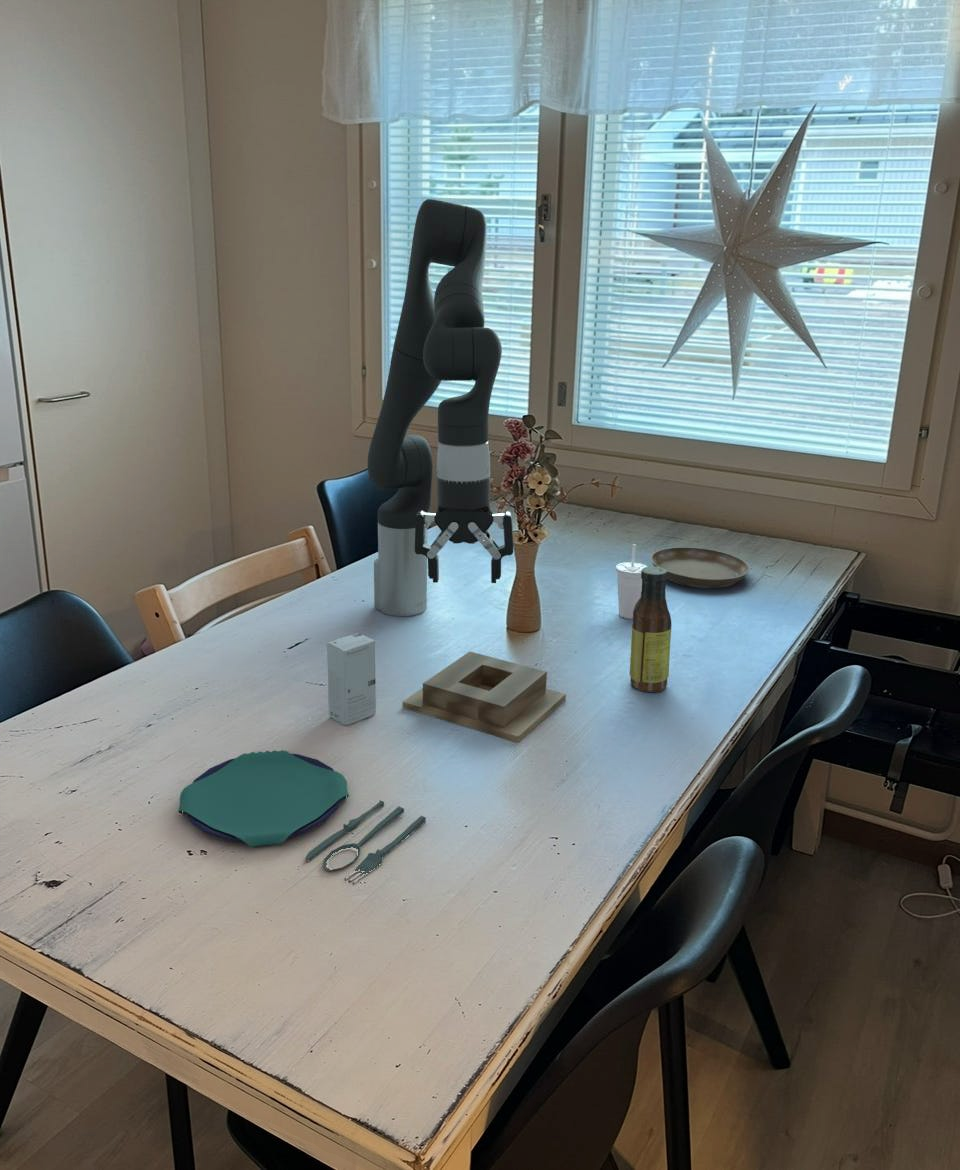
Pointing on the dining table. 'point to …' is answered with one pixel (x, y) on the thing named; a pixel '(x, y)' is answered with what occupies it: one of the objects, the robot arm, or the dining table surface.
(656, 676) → the sauce bottle
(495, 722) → the socket holder
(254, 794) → the cutlery set
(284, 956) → the dining table surface
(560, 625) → the dining table surface
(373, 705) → the skincare box
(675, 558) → the plant saucer
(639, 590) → the smoothie
